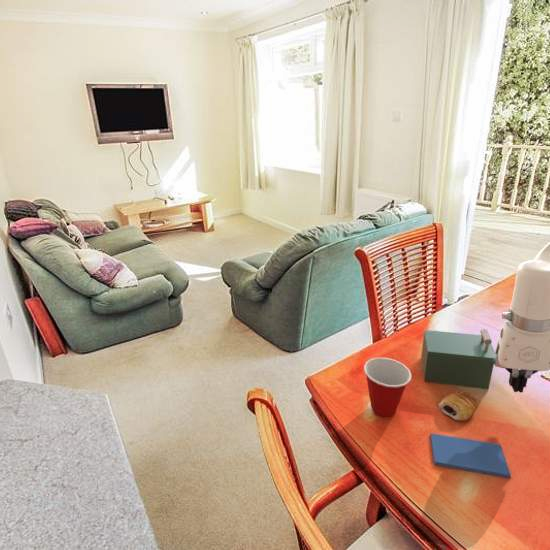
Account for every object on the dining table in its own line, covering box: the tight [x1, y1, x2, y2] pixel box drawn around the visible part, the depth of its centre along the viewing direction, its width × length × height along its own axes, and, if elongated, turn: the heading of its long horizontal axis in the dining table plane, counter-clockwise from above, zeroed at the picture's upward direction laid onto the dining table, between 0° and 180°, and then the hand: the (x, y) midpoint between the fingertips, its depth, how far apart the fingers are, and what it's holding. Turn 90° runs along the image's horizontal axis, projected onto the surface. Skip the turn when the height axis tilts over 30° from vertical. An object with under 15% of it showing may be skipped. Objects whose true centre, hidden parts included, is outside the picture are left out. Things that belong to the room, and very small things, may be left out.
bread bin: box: [420, 333, 495, 390], centre depth 101 cm, size 16×11×9 cm
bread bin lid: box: [423, 328, 496, 361], centre depth 99 cm, size 16×11×4 cm, turn 75°
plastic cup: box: [363, 357, 412, 419], centre depth 90 cm, size 11×11×12 cm
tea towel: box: [430, 433, 512, 479], centre depth 79 cm, size 14×8×1 cm, turn 74°
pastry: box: [437, 391, 478, 422], centre depth 90 cm, size 9×7×4 cm
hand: (516, 388), depth 86 cm, fingers closed
